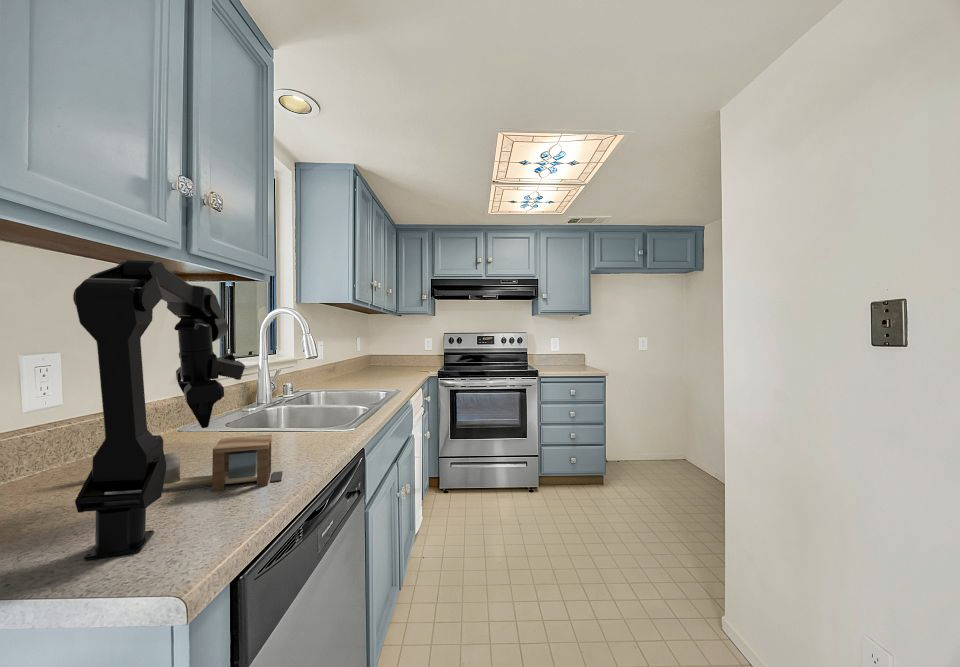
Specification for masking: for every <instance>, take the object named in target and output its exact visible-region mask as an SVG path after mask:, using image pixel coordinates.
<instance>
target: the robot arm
mask: <svg viewBox="0 0 960 667" xmlns="http://www.w3.org/2000/svg"><path fill="white" fill-rule="evenodd" d="M72 296H73V298H72V299H73V302H74V305H75V309H76V312H77V317H78V322H79V324H80V325H81V326H82V327H83V328H84V329H85V331H86V332H87V333H88V334H89V335H90V336H91V337H92V338H93V340H95V342H96V347H97V360H98V361H97V362H98V368H99V370H98V371H99V380H100V382H99V383H100V392H101V393H100V394H101V404H102V414H103V425H104V426H103V428H104V440H103V442H102V443H101V445H100V446H99V448H98V449H97V451H96V452H95V454H94V455H93V457H92V464H91V465H92V466H91V467H92V468H91V470H90V472H89V473H88V476H87V477H86V480H85V481H84V483H83V485H82V487H81V489H80V490H79V492H78V495H77V497H76V499H75V501H74V504H75V508H76V511H77V513H87V512H95V532H94V533H95V534H94V535H95V536H94V538H95V541H94V542H95V543H94V546H92V547H91V548H90V549H88V551H87V552H86V553H85V555H84V556H83V560H84V561H87V560H96V559H99V558H101V559H102V558H105V557H106V558H107V557H108V558H109V557H114V556H120V555H128V554H134V553H139V552H141V551H142V550H143V549H144V547H145V546H146V545H147V544H148V542H149V541H150V539H151V538H152V537H153V535H154V534H155V530H154V529H153V530H151V529H150V530H147V529H146V526H147V524H146V522H147V508H148V507H150V506H151V505H153V503H155V502H156V501H158V500H160V498H162V494H163V491H162V490H163V484H164V479H165V473H166V461H165V456H164V455H165V453H164V439H163V437H162V435H159V434H156V435H155V434H154V435H153V434H152V432H150V431H149V429H148V423H147V412H146V411H147V409H146V397H145V382H144V369H143V357H142V355H143V354H142V344H141V342H142V341H141V337H142V336H143V335H144V333H145V332H146V330H147V329H148V327H149V326H150V324H151V323H152V321H153V315H154V314H153V313H154V312H153V311H154V308H155V307H156V306H157V305H158V304H159V303H160V302H161V300H162V301H164V302H166V309H167V310H168V311H169V312H171V313H172V314H173V315H174V316H176V317H177V318H178V319H180V320H179V321H178V322H177V323H175V325H174V328H173V329H174V331H177V334H178V335H177V336H178V349H179V352H178V358H179V362H180V366H179V367H178V368H177V369H176V370H175V376H176V380H177V384H178V386H179V388H180V390H181V391H182V393H183V394H184V398H185V399H184V400H185V402H186V404H187V405H188V407H189V408H190V410H191V412H192V414H193V415H194V418H196V420H197V422H198V424H199V425H200V427H201V428H202V429H206V428H209V426H210V422H211V416H212V412H213V408H214V405H215V404H216V403H217V402H218V401H221V399H222V398H223V397H225V388H224V386H223V384H222V383H221V382H219V381H218V380H216V379H219V376H220V377H226V378H231V379H234V380H237V381H240V380H241V379H242V377H243V375H244V371H245V369H246V365H245V364H244V363H243V362H241V361H240V360H236V358H235V355H234V354H233V353H227V352H226V353H224V355H222V356H219V357H217V354H216V353H215V352H214V348H213V347H214V346H213V343H214V342H216V341H218V340H220V339H221V338H223V337H225V336H226V334H227V333H228V331H229V324H228V322H227V320H226V319H225V317H224V314H223V312H222V309H221V305H220V302H219V300H218V298H217V296H216V294H215V293H214V292H213V290H212V289H211V288H209V287H206V286H201V285H192V284H190V283H188V282H187V281H185V280H184V279H182V278H181V277H179V276H178V275H176V274H175V273H173V272H171V271H170V270H168V269H167V268H166V267H165V265H164V264H163V262H160V261H158V260H156V259H139V258H137V259H135V258H134V259H132V258H130V259H127V260H122V261H121V262H120V263H118V264H117V265H116V266H113V267H111V268H108V269H105V270H102V271H99V272H97V273H93V274H91V275H90V276H89V277H88V278H85V279H84V280H83V281H82V282H81V283H80V284H79V285H78V286H76V288H75V289H74V290H73V295H72ZM132 490H142V491H141V493H128V494H112V495H104V494H105V492H116V491H132Z"/></svg>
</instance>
